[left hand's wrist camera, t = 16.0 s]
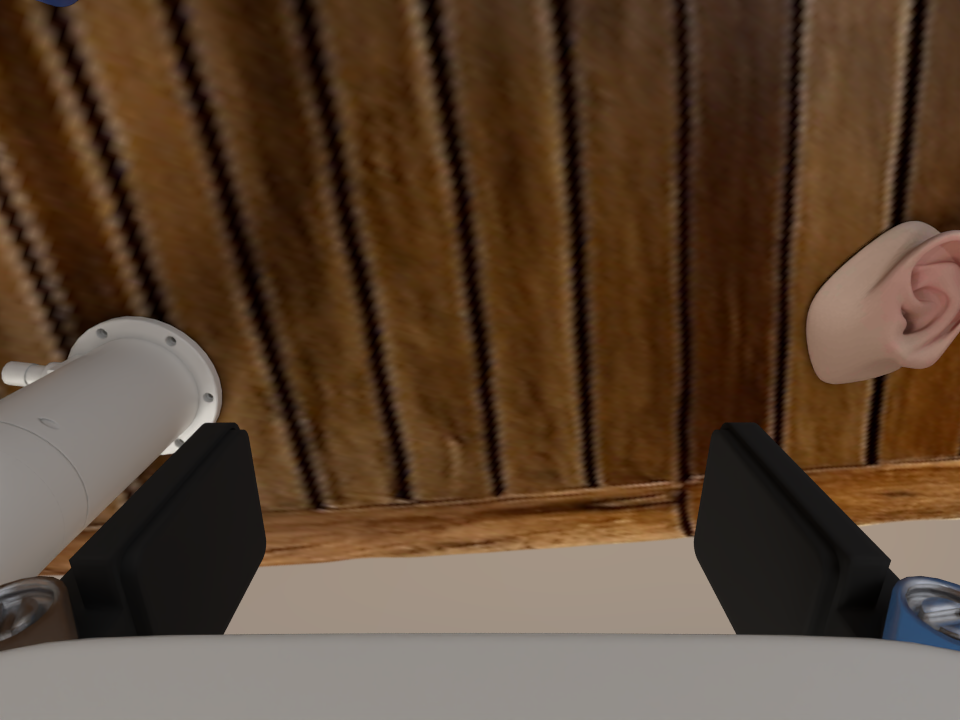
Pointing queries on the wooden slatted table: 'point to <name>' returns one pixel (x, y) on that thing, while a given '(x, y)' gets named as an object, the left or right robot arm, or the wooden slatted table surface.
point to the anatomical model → (888, 306)
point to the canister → (59, 2)
